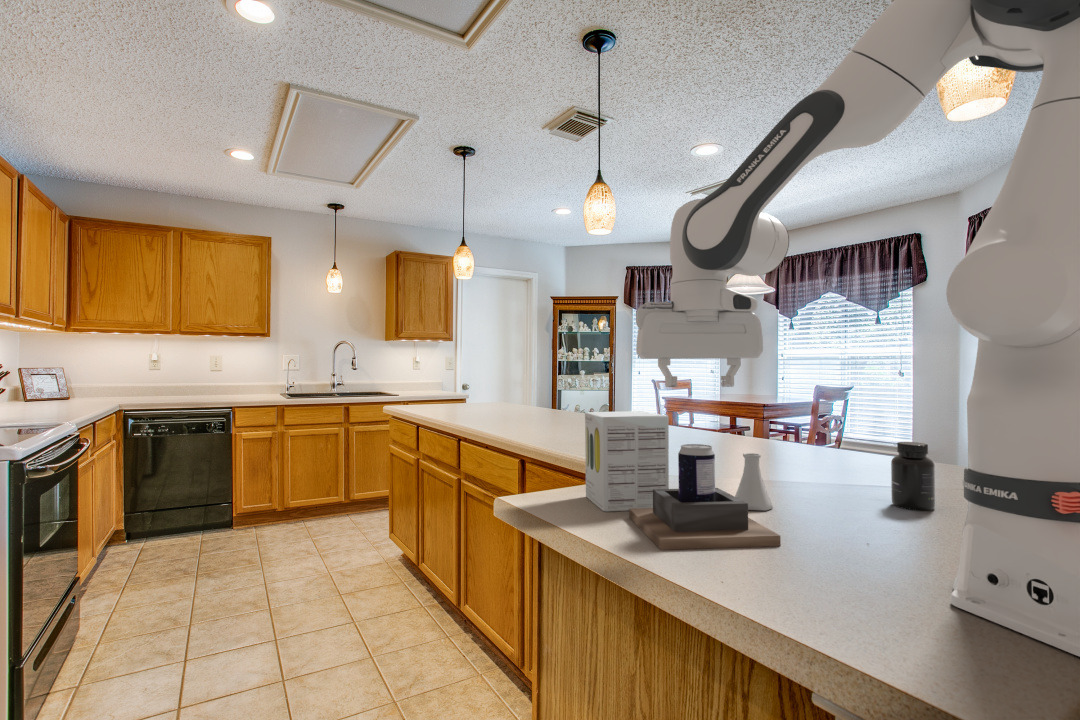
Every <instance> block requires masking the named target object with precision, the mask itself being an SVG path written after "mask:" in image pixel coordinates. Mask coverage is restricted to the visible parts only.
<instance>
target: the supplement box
mask: <svg viewBox="0 0 1080 720" xmlns="http://www.w3.org/2000/svg"><path fill="white" fill-rule="evenodd" d="M584 425H585V426H584V429H585V431H584V433H585V434H584V435H585V437H584V438H585V443H584V444H585V446H584V447H585V452H584V453H585V497H586V498H587V499H588V500H589V501H591V502H592V503H593V504H594V505H595V506H597V507H598V508H599V509H600V510H601V511H603V512H620V511H621V512H622V511H623V512H624V511H625V512H626V511H629V509H632V508H653V489H670V485H669V483H670V481H669V480H670V479H669V477H670V475H669V472H670V471H669V470H670V469H669V467H670V465H669V463H670V462H669V461H670V460H669V457H670V455H669V453H670V452H669V451H670V450H669V449H670V448H669V447H670V446H669V445H670V443H669V441H670V440H669V439H670V438H669V415H665V414H659V413H656V412H655V413H654V412H649V411H642V410H641V411H640V410H637V411H636V410H634V411H628V410H627V411H588V412H586V411H585V412H584Z"/></svg>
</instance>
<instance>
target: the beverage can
mask: <svg viewBox="0 0 1080 720" xmlns="http://www.w3.org/2000/svg"><path fill="white" fill-rule="evenodd" d="M677 456H678V457H677V459H678V466H677V467H678V489H679V502H681V503H686V502H715V488H716V461H715V460H716V454H715V453H714V450H713V446H712V445H709V444H701V443H700V444H698V443H690V444H689V443H687V444H681V445H680V449H679V451H678V455H677Z"/></svg>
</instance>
